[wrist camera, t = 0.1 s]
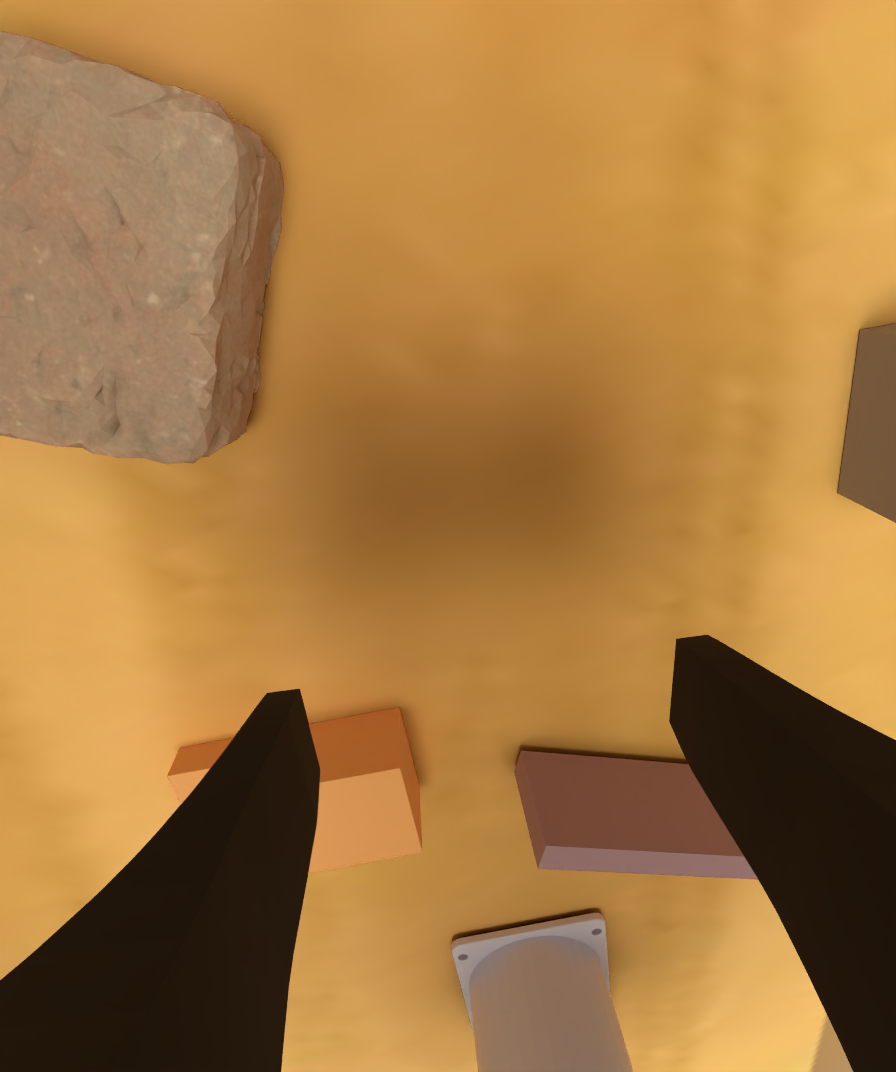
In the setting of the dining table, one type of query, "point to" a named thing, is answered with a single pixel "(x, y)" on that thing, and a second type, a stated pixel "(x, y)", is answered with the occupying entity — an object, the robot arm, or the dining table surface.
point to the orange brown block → (345, 788)
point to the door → (623, 817)
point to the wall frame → (872, 425)
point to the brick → (127, 259)
